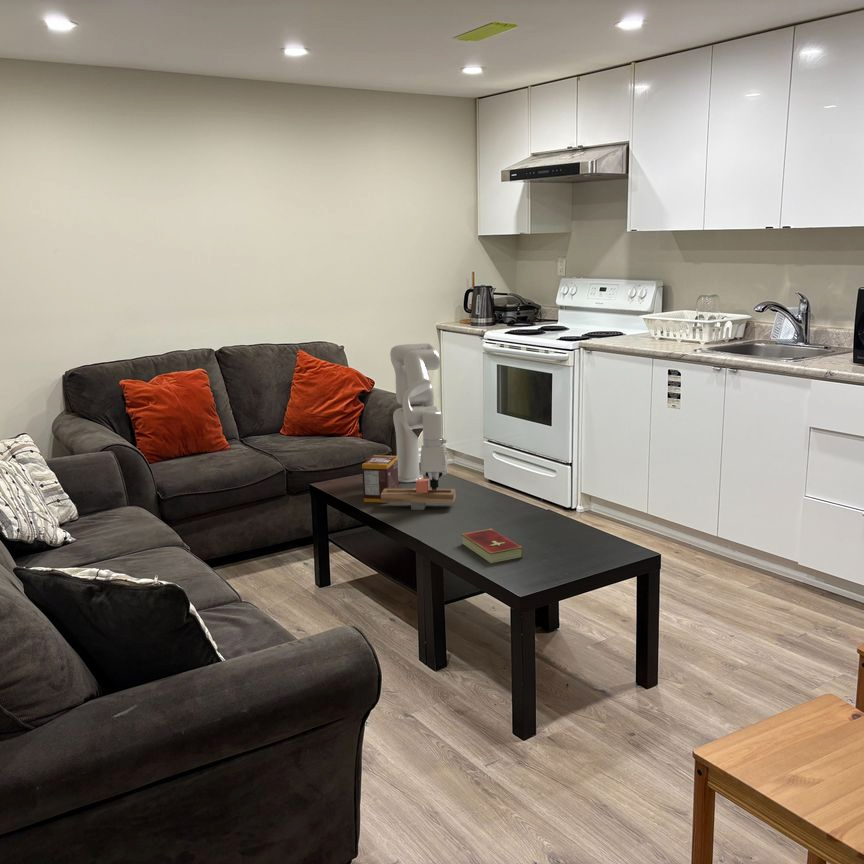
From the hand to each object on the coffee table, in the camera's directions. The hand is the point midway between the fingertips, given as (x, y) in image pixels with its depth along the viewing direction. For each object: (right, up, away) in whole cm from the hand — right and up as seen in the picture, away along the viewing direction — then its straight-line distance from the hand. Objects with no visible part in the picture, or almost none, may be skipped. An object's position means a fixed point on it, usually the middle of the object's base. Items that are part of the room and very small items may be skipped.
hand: (434, 489), depth 329 cm
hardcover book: (+19, -18, -47) cm, 53 cm away
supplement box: (-21, -5, +17) cm, 28 cm away
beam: (-6, -7, +2) cm, 10 cm away
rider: (-4, -3, +1) cm, 5 cm away
